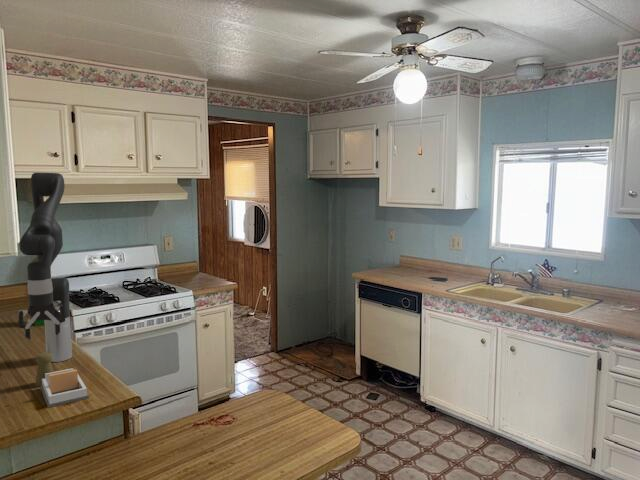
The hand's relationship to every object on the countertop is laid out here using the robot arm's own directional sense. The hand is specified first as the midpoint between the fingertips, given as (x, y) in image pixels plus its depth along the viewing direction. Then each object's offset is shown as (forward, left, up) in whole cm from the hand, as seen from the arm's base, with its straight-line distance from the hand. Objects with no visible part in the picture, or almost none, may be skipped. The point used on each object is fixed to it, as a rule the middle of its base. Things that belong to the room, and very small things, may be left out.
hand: (42, 336), depth 170 cm
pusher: (+12, +4, -16) cm, 20 cm away
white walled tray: (+13, +4, -17) cm, 22 cm away
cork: (0, 0, -17) cm, 17 cm away
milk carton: (-86, +9, -17) cm, 88 cm away
